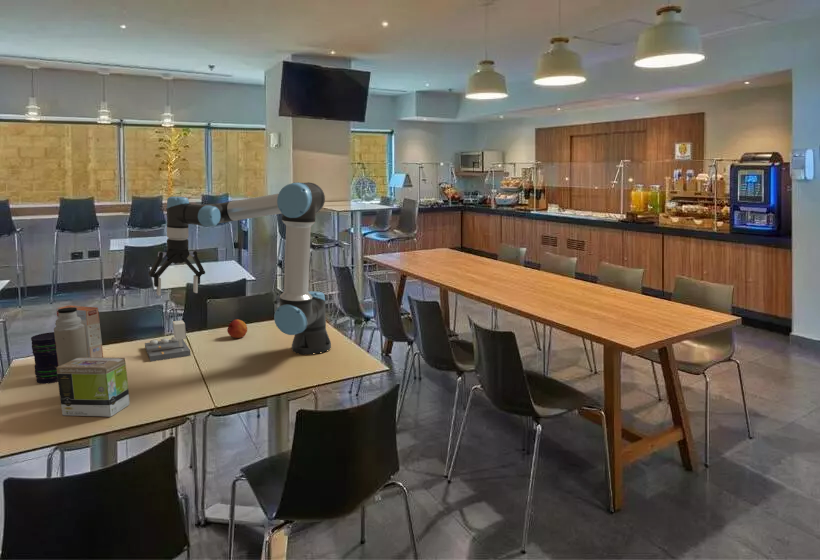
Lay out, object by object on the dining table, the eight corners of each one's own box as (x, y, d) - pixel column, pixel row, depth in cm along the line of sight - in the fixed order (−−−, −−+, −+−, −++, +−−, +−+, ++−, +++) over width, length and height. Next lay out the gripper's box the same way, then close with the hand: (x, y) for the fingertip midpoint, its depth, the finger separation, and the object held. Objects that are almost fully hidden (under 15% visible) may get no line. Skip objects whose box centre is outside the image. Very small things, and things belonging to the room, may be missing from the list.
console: (190, 355, 218) (189, 346, 217) (150, 361, 211) (149, 352, 210) (182, 342, 235) (181, 334, 234) (145, 347, 228) (144, 339, 228)
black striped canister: (29, 381, 191) (23, 338, 189) (57, 372, 200) (52, 330, 197) (48, 385, 187) (43, 341, 185) (76, 376, 196) (72, 333, 193)
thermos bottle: (56, 402, 173) (45, 311, 168) (70, 392, 181) (59, 305, 176) (84, 401, 174) (74, 311, 169) (96, 391, 182) (87, 305, 177)
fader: (186, 347, 220) (184, 323, 218) (177, 349, 218) (175, 324, 216) (184, 343, 225) (182, 320, 223) (174, 345, 223) (172, 321, 221)
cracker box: (105, 362, 211) (99, 306, 207) (91, 367, 205) (84, 310, 201) (76, 358, 215) (70, 304, 211) (61, 363, 210) (55, 307, 206)
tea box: (131, 404, 171) (126, 356, 169) (110, 418, 161) (105, 367, 159) (83, 402, 173) (78, 355, 170) (60, 416, 163) (54, 366, 160)
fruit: (227, 336, 245) (226, 317, 243) (247, 334, 247) (246, 316, 246) (227, 341, 237) (226, 322, 236) (248, 339, 240) (247, 320, 238)
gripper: (207, 236, 225) (206, 289, 229) (139, 237, 209) (139, 293, 213) (214, 239, 219) (213, 293, 224) (145, 240, 204) (145, 298, 208)
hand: (177, 293), depth 219 cm, fingers open, 13 cm apart
